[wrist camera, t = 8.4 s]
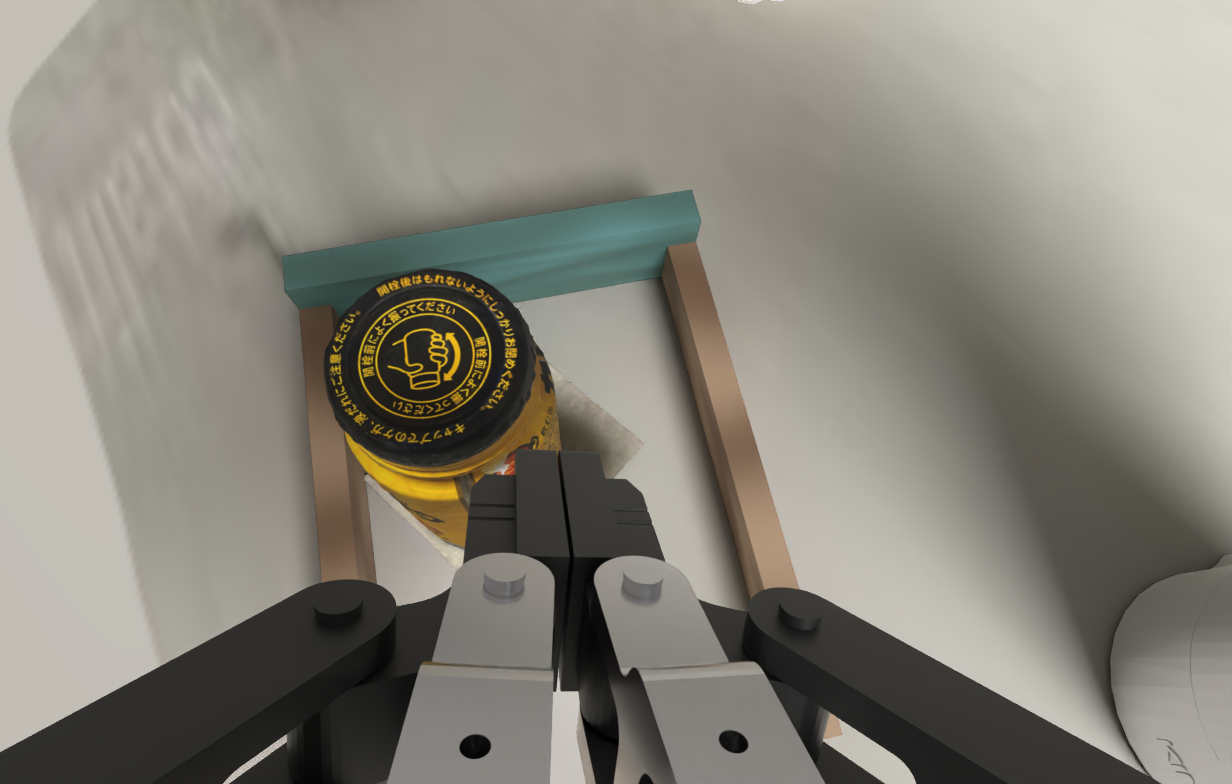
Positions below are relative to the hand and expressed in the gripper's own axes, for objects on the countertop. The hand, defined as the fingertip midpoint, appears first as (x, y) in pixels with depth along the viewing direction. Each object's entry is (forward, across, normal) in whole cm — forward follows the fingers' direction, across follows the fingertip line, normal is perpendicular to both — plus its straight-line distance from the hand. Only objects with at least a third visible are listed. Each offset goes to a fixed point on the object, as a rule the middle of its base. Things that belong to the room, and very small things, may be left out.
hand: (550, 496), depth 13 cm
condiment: (+15, 0, +7) cm, 17 cm away
